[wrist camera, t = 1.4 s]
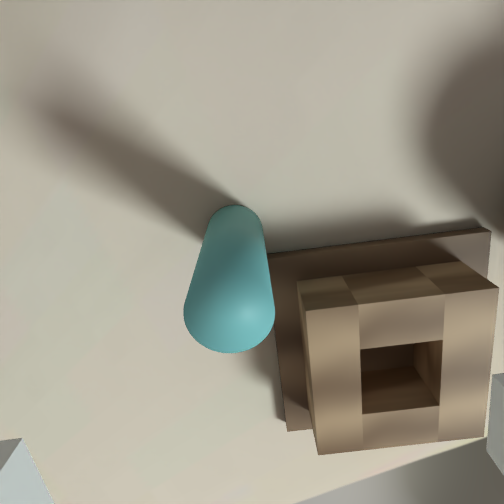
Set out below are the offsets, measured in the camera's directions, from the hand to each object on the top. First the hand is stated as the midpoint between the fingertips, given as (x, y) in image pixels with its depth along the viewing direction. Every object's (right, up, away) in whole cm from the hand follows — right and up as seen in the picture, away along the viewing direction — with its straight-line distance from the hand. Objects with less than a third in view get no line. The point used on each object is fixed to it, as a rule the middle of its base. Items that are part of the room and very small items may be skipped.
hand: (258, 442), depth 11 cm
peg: (-1, +7, +17) cm, 19 cm away
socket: (+10, -1, +20) cm, 23 cm away
